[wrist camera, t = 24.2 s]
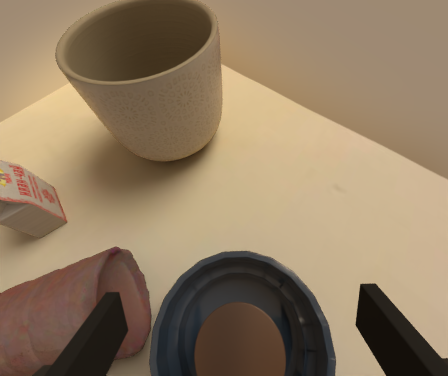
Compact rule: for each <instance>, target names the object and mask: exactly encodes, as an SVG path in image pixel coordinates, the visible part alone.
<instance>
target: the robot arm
mask: <svg viewBox="0 0 448 376" xmlns="http://www.w3.org/2000/svg"><path fill="white" fill-rule="evenodd" d="M356 327H357V328H358V330H359V332H360V333H361V335H362V337H363V338H364V340H365V341H366V343H367V345H368V346H369V348H370V350H371V351H372V353H373V355H374V356H375V358H376V360H377V361H378V363H379V365H380V366H381V368H382V370H383V371H384V373H385V375H386V376H448V358H445V359H442V358H441V357H440V356H439V355H438V354H437V353H436V351H435V350H434V349H433V348H432V347H431V346H430V345H429V344H428V342H427V341H426V340H425V339H424V338H423V337H422V336H421V335H420V333H419V332H418V331H417V330H416V329H415V328H414V327H413V325H412V324H411V323H410V322H409V321H408V320H407V319H406V318H405V316H404V315H403V314H402V313H401V312H400V311H399V310H398V308H397V307H396V306H395V305H394V304H393V303H392V302H391V301H390V299H389V298H388V297H387V296H386V295H385V294H384V293H383V292H382V290H381V289H380V288H379V287H378V286H377V285H376V284H360V292H359V300H358V309H357V317H356ZM127 332H128V326H127V322H126V318H125V313H124V309H123V305H122V301H121V297H120V293H119V292H106V293H105V294H104V296H103V297H102V298H101V300H100V301H99V302H98V304H97V305H96V307H95V308H94V309H93V311H92V312H91V313H90V315H89V316H88V317H87V319H86V320H85V321H84V323H83V324H82V325H81V327H80V328H79V329H78V331H77V332H76V333H75V335H74V336H73V337H72V339H71V340H70V342H69V343H68V344H67V346H66V347H65V348H64V350H63V351H62V352H61V354H60V355H59V356H58V358H57V359H56V360H55V362H54V363H53V364H52V365H43V366H42V367H41V368H40V369H39V370H38V371H36V372H35V373H34V374H33V375H32V376H106V374H107V372H108V370H109V368H110V366H111V364H112V362H113V360H114V358H115V356H116V354H117V352H118V350H119V348H120V346H121V344H122V342H123V340H124V338H125V336H126V334H127Z"/></svg>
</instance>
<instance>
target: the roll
mask: <svg viewBox="0 0 448 376" xmlns="http://www.w3.org/2000/svg"><path fill="white" fill-rule="evenodd" d="M194 361H195V369H196V373H197V376H284V374H285V367H286V355H285V348H284V343H283V340H282V337H281V334H280V332H279V330H278V328H277V326H276V325H275V323H274V322H273V320H272V319H271V318H270V317H269V316H268V315H267V314H266V313H265V312H264V311H263V310H261V309H260V308H258V307H256V306H254V305H252V304H249V303H245V302H231V303H227V304H225V305H222V306H220V307H218V308H217V309H215V310H214V311H213V312H212V313H211V314H210V315H209V316H208V317H207V318H206V320H205V321H204V322H203V324H202V326H201V328H200V330H199V332H198V335H197V339H196V343H195V351H194Z"/></svg>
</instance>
